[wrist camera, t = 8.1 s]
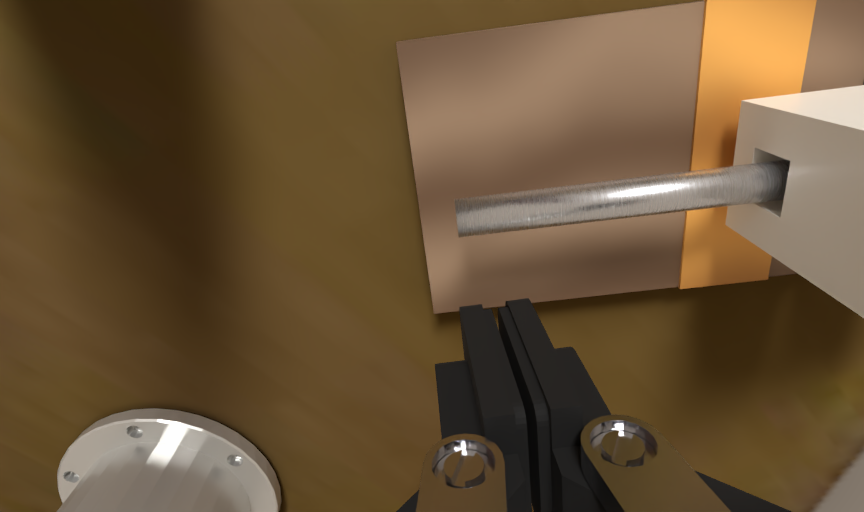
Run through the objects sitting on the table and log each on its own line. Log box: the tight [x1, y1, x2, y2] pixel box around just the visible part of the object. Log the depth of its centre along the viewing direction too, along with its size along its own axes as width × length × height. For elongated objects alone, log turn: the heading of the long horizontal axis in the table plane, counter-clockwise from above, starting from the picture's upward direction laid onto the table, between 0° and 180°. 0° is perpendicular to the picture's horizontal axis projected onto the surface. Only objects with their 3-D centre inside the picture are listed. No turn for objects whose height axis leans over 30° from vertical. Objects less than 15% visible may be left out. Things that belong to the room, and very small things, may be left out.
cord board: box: [396, 0, 864, 314], centre depth 22 cm, size 12×24×2 cm, turn 97°
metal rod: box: [454, 160, 790, 238], centre depth 18 cm, size 1×16×1 cm, turn 97°
